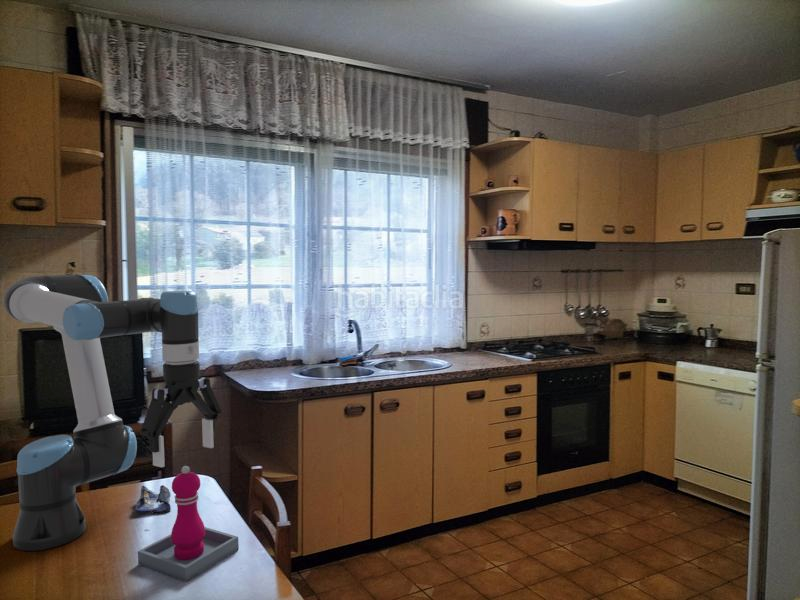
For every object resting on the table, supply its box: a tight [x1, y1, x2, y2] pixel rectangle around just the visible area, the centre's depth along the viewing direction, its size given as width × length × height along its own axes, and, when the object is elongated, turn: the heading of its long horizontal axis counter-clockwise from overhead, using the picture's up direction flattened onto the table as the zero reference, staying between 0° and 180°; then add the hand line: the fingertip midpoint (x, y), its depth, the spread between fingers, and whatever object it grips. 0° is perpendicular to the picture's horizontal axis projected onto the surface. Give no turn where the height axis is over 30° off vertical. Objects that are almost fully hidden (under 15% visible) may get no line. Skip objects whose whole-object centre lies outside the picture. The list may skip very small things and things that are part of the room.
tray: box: [137, 526, 240, 583], centre depth 130 cm, size 15×15×3 cm
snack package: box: [135, 484, 171, 515], centre depth 156 cm, size 12×6×12 cm
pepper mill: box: [170, 465, 206, 560], centre depth 129 cm, size 7×7×20 cm
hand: (184, 456), depth 128 cm, fingers open, 13 cm apart
